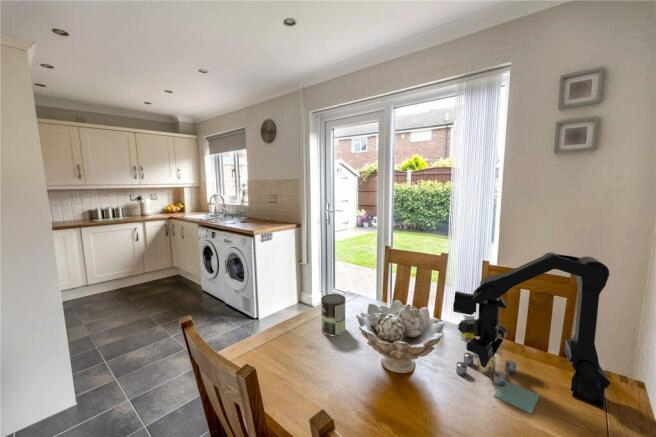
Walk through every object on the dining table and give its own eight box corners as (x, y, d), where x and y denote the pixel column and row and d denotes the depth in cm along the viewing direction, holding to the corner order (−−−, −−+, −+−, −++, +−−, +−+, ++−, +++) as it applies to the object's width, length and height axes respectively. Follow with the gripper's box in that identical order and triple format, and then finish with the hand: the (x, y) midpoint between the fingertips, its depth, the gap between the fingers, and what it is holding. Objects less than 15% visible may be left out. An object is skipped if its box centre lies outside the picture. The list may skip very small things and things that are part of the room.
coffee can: (322, 337, 115) (322, 304, 113) (320, 325, 125) (320, 294, 124) (347, 335, 116) (347, 302, 115) (343, 323, 126) (343, 293, 125)
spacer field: (518, 369, 93) (518, 361, 92) (501, 395, 82) (502, 385, 81) (473, 352, 103) (473, 344, 103) (453, 372, 92) (453, 363, 92)
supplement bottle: (465, 343, 109) (466, 317, 108) (457, 335, 114) (457, 311, 113) (478, 341, 110) (480, 316, 108) (469, 334, 115) (470, 310, 114)
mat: (539, 396, 81) (539, 395, 81) (531, 414, 75) (531, 412, 75) (503, 381, 87) (503, 379, 87) (493, 396, 81) (493, 394, 81)
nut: (497, 370, 92) (497, 355, 92) (491, 378, 89) (492, 362, 88) (480, 364, 96) (481, 349, 95) (474, 370, 93) (475, 355, 92)
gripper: (473, 302, 103) (471, 342, 104) (450, 318, 90) (448, 364, 92) (508, 311, 94) (506, 355, 96) (488, 331, 82) (486, 381, 84)
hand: (486, 363), depth 92 cm, fingers closed on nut, 5 cm apart
